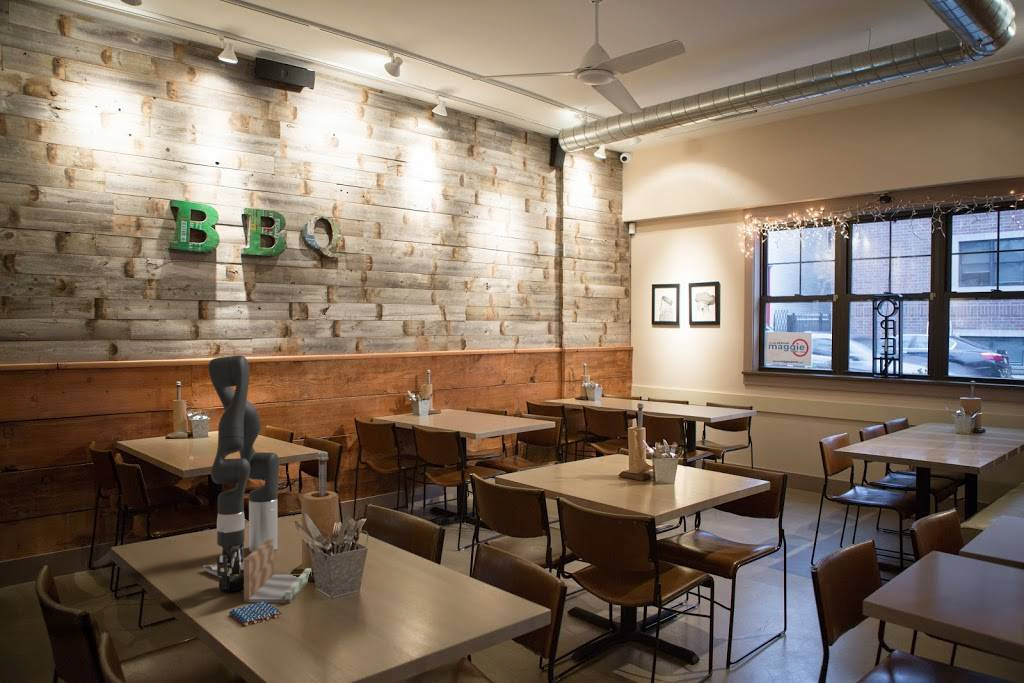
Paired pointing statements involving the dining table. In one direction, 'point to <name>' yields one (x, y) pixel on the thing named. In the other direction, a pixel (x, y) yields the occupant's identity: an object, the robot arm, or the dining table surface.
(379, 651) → the dining table surface
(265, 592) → the cleat board
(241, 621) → the woven mat
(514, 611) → the dining table surface
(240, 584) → the tape measure
